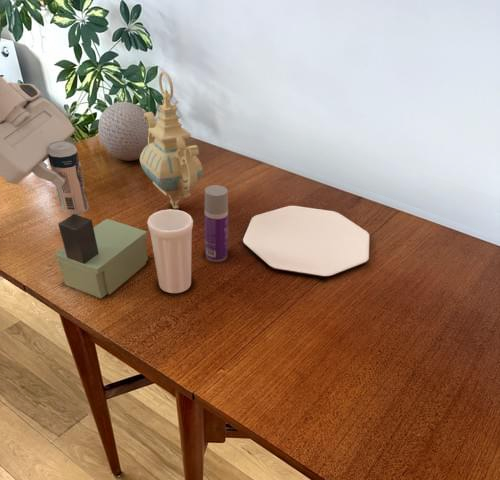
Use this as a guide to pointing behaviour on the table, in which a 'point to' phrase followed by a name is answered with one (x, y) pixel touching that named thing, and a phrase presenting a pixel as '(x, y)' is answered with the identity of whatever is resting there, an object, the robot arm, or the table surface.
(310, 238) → the plate
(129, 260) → the sage green lidded box
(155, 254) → the cup
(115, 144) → the decorative ball
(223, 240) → the container
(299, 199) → the table surface
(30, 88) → the robot arm
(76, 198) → the white lidded canister
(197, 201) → the table surface
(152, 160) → the ornate tan lantern
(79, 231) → the block
